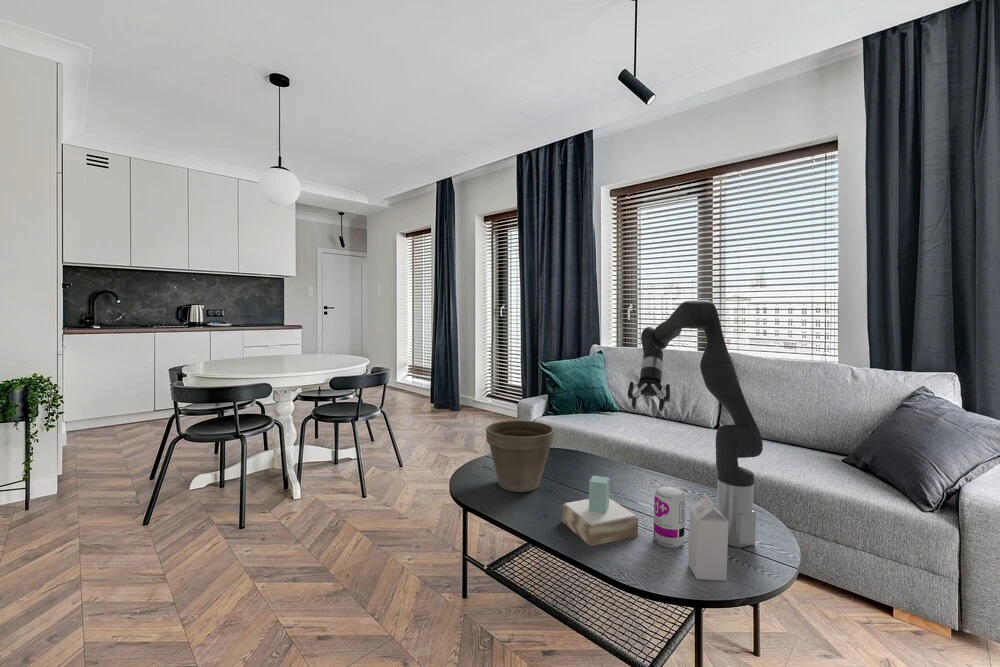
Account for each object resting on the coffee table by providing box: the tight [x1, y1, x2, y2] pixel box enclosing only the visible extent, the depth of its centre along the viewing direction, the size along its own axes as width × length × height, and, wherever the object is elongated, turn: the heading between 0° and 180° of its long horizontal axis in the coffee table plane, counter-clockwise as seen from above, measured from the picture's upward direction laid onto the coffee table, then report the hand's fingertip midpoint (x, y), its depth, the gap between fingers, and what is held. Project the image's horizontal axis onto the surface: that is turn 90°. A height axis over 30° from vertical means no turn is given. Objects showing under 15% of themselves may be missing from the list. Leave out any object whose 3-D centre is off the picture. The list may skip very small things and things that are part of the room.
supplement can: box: [653, 484, 686, 549], centre depth 136 cm, size 8×8×15 cm
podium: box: [561, 497, 639, 547], centre depth 144 cm, size 16×16×6 cm
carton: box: [588, 475, 611, 514], centre depth 143 cm, size 5×5×9 cm
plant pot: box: [485, 420, 555, 493], centre depth 177 cm, size 25×25×22 cm
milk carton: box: [687, 493, 729, 582], centre depth 120 cm, size 7×7×19 cm
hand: (647, 409), depth 167 cm, fingers open, 8 cm apart
